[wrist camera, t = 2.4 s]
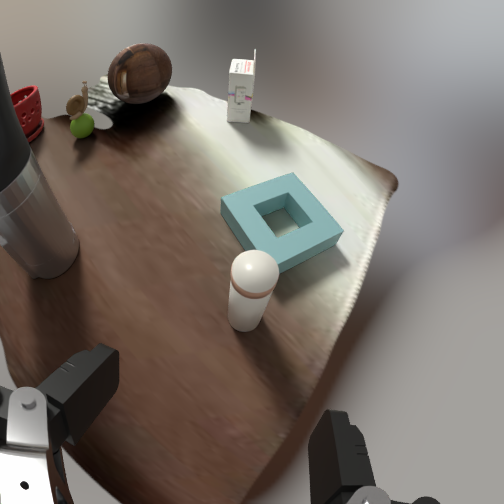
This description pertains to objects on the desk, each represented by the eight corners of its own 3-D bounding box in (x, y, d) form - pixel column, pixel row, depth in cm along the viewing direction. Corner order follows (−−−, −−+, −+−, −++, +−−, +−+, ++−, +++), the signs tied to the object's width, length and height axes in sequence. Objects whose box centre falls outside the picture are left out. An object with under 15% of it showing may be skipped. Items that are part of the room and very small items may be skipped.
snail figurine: (104, 127, 52) (93, 80, 42) (84, 145, 49) (70, 97, 38) (88, 124, 53) (77, 80, 42) (69, 141, 49) (54, 95, 39)
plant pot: (39, 146, 48) (22, 104, 38) (0, 158, 46) (-18, 121, 36) (55, 115, 55) (44, 78, 45) (18, 127, 52) (5, 93, 42)
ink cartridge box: (228, 103, 60) (232, 45, 47) (250, 104, 60) (257, 47, 48) (225, 122, 55) (230, 58, 43) (249, 124, 56) (257, 60, 43)
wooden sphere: (149, 82, 64) (145, 33, 51) (185, 96, 60) (185, 40, 47) (102, 105, 57) (92, 53, 44) (134, 122, 53) (125, 61, 40)
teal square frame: (265, 281, 37) (269, 268, 34) (220, 213, 42) (221, 197, 39) (335, 244, 42) (343, 230, 39) (288, 187, 47) (292, 172, 44)
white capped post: (237, 338, 33) (246, 301, 23) (221, 309, 35) (222, 261, 25) (267, 322, 35) (288, 279, 24) (249, 295, 36) (263, 242, 26)
